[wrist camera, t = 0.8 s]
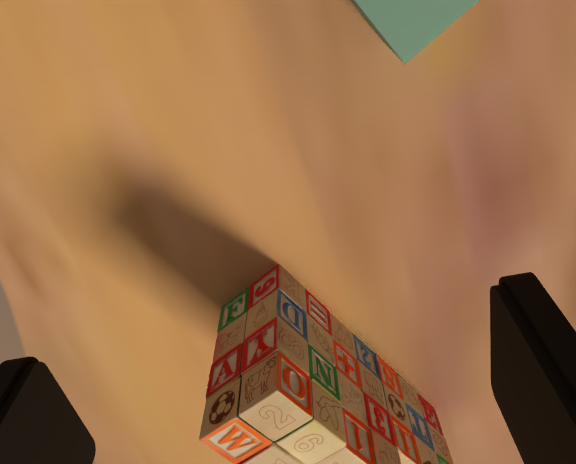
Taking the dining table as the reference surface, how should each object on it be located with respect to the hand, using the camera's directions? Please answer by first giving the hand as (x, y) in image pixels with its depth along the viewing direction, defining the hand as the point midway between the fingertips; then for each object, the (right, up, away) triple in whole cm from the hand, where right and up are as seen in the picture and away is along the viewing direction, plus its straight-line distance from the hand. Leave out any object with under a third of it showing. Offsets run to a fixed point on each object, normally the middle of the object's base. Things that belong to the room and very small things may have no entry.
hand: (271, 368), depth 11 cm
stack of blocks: (+4, -8, +32) cm, 33 cm away
